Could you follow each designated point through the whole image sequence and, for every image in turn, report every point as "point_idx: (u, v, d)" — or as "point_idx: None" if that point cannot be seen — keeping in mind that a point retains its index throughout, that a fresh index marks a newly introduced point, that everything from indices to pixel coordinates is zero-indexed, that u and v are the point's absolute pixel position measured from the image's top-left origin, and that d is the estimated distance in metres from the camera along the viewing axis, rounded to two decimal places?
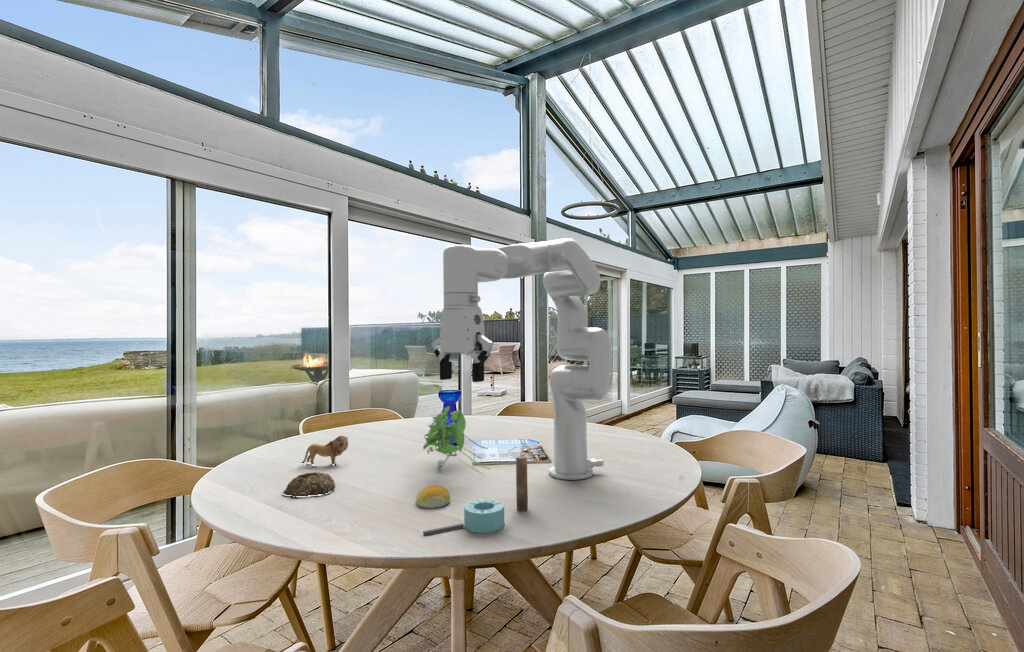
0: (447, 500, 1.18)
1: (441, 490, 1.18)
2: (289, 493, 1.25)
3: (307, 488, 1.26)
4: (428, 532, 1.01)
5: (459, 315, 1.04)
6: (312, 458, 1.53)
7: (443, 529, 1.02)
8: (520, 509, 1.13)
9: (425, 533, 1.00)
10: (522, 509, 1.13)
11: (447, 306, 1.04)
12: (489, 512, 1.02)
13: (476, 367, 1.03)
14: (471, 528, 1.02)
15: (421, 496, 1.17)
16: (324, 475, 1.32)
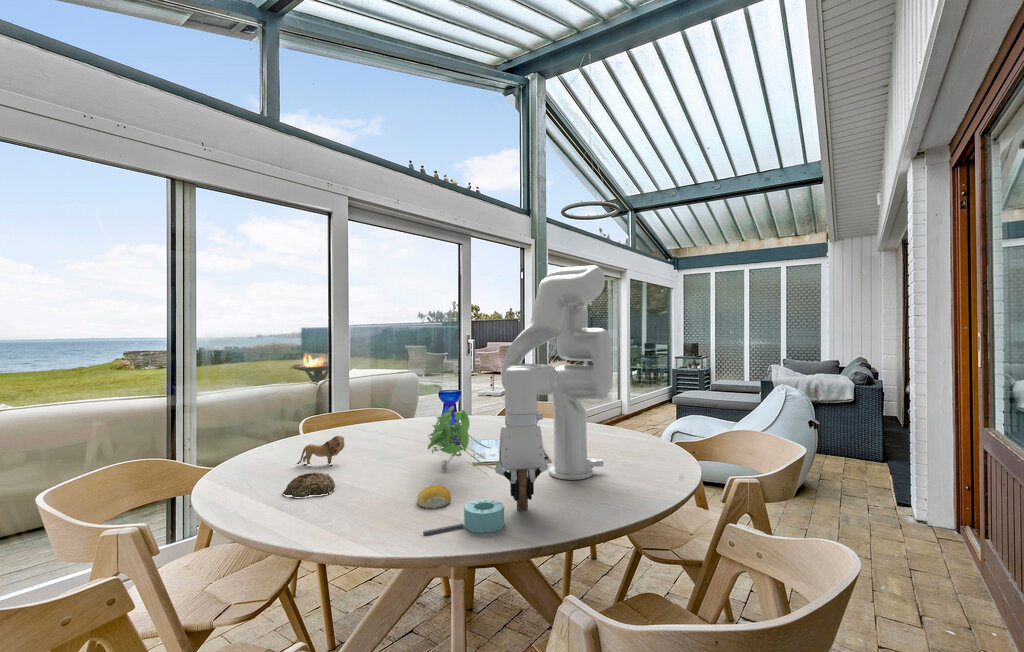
0: (448, 500, 1.18)
1: (442, 490, 1.18)
2: (289, 494, 1.25)
3: (306, 488, 1.25)
4: (428, 532, 1.01)
5: (531, 434, 1.12)
6: (308, 458, 1.53)
7: (443, 529, 1.02)
8: (520, 509, 1.13)
9: (425, 533, 1.00)
10: (522, 509, 1.13)
11: (523, 427, 1.11)
12: (489, 512, 1.02)
13: None
14: (471, 528, 1.02)
15: (422, 496, 1.17)
16: (324, 475, 1.31)
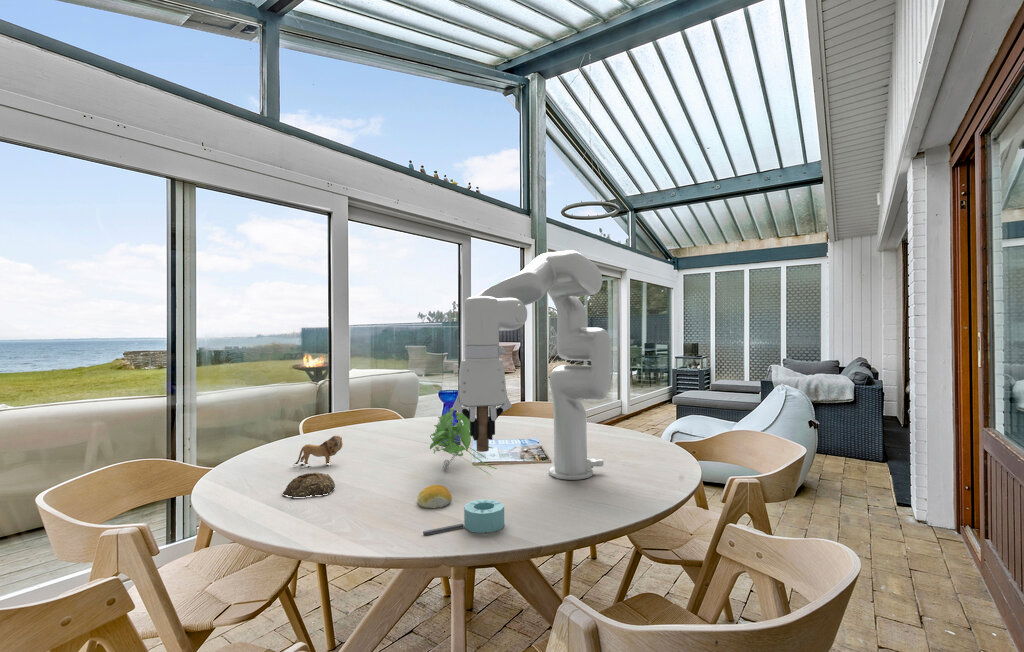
0: (448, 500, 1.18)
1: (442, 490, 1.18)
2: (289, 494, 1.25)
3: (306, 489, 1.25)
4: (428, 532, 1.01)
5: (492, 367, 1.04)
6: (306, 458, 1.53)
7: (443, 529, 1.02)
8: (479, 449, 1.04)
9: (425, 533, 1.00)
10: (482, 449, 1.04)
11: (482, 359, 1.02)
12: (489, 512, 1.02)
13: (492, 424, 1.05)
14: (471, 528, 1.02)
15: (422, 496, 1.17)
16: (324, 475, 1.31)
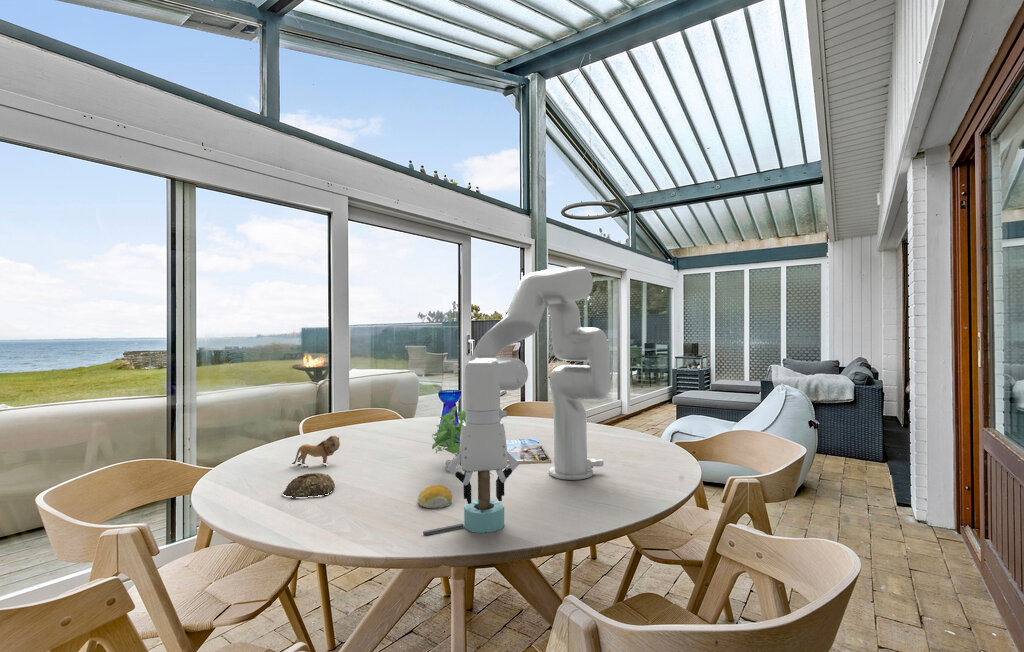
0: (449, 500, 1.18)
1: (443, 490, 1.18)
2: (289, 494, 1.25)
3: (306, 489, 1.25)
4: (428, 532, 1.01)
5: (493, 432, 1.04)
6: (303, 458, 1.53)
7: (443, 529, 1.02)
8: None
9: (425, 533, 1.00)
10: None
11: (483, 425, 1.02)
12: (489, 512, 1.02)
13: None
14: (471, 528, 1.02)
15: (423, 496, 1.17)
16: (324, 476, 1.31)
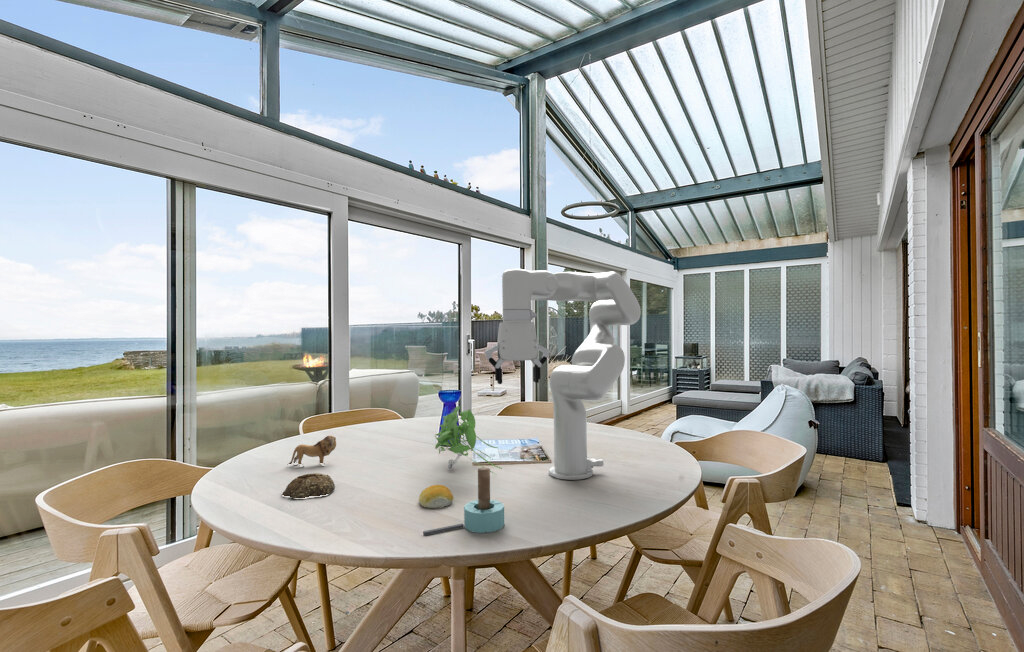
0: (450, 500, 1.18)
1: (444, 490, 1.18)
2: (288, 494, 1.24)
3: (306, 489, 1.25)
4: (428, 532, 1.01)
5: (526, 328, 1.25)
6: (300, 459, 1.53)
7: (443, 529, 1.02)
8: None
9: (425, 533, 1.00)
10: None
11: (518, 320, 1.23)
12: (489, 512, 1.02)
13: None
14: (471, 528, 1.02)
15: (424, 496, 1.17)
16: (324, 476, 1.31)
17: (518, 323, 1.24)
